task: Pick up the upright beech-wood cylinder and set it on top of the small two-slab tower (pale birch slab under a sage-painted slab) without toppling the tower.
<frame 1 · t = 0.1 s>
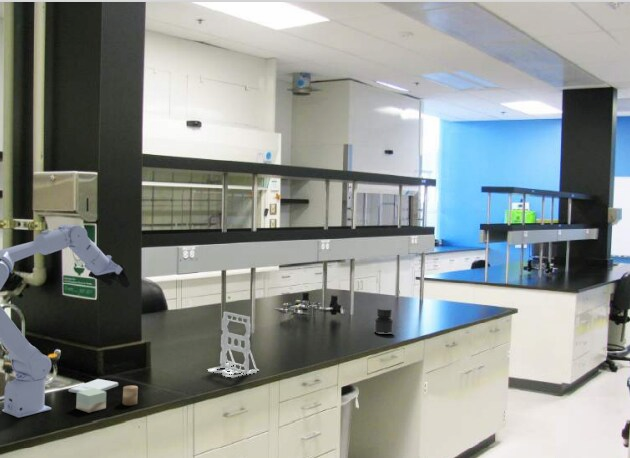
hand: (119, 284, 192), 32 cm above the worktop, fingers open, 7 cm apart
external hard drive: (93, 391, 192), on the worktop
slab lower: (90, 410, 174), on the worktop, touching slab upper
beech cylinder: (129, 403, 180), on the worktop
slab upper: (91, 401, 174), point 2 cm above the worktop, touching slab lower
ink bottle: (383, 334, 305), on the worktop
grey upright openwork frame: (232, 372, 221), on the worktop
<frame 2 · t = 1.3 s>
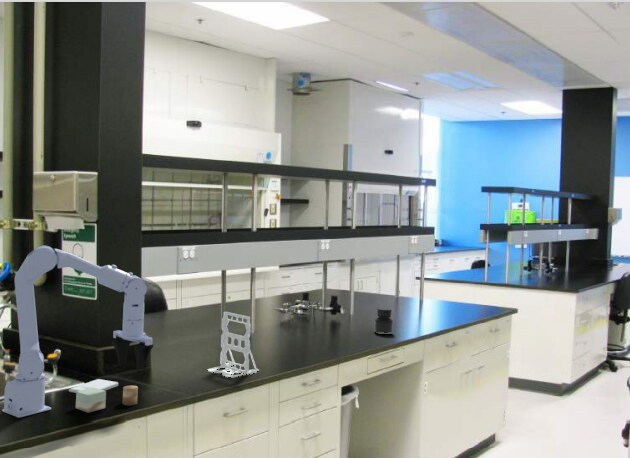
hand: (131, 366, 180), 10 cm above the worktop, fingers open, 7 cm apart
nothing on the worktop moved.
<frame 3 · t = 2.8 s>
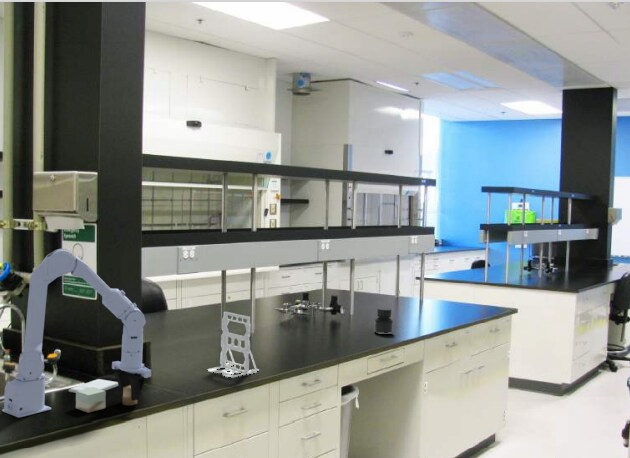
hand: (130, 398, 180), 1 cm above the worktop, fingers closed on beech cylinder, 4 cm apart
beech cylinder: (129, 403, 180), on the worktop, touching gripper
everything else where it was.
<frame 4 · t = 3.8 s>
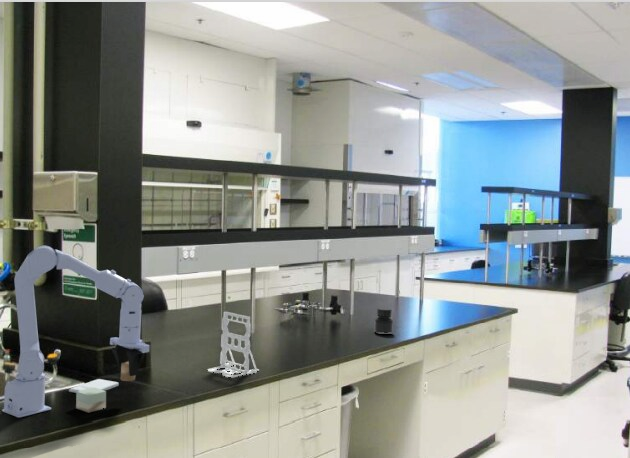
hand: (128, 373, 179), 8 cm above the worktop, fingers closed on beech cylinder, 4 cm apart
beech cylinder: (127, 379, 180), point 7 cm above the worktop, touching gripper
everything else where it was.
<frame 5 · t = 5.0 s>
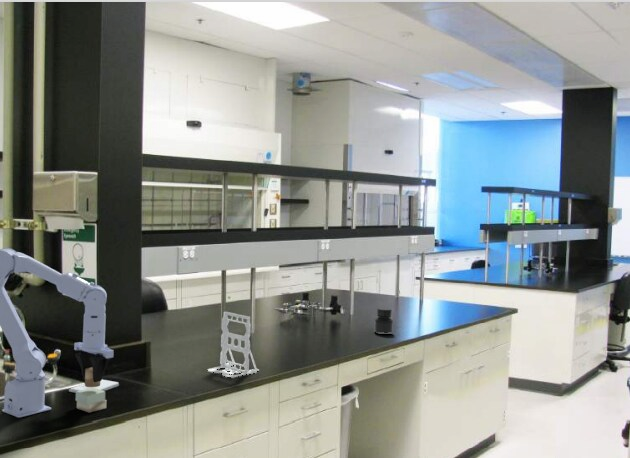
hand: (92, 379, 174), 8 cm above the worktop, fingers closed on beech cylinder, 4 cm apart
beech cylinder: (92, 385, 174), point 6 cm above the worktop, touching gripper
everything else where it was.
when the fingers open (7 cm above the worktop, at t = 5.5 s): beech cylinder drops 1 cm, resting on slab upper.
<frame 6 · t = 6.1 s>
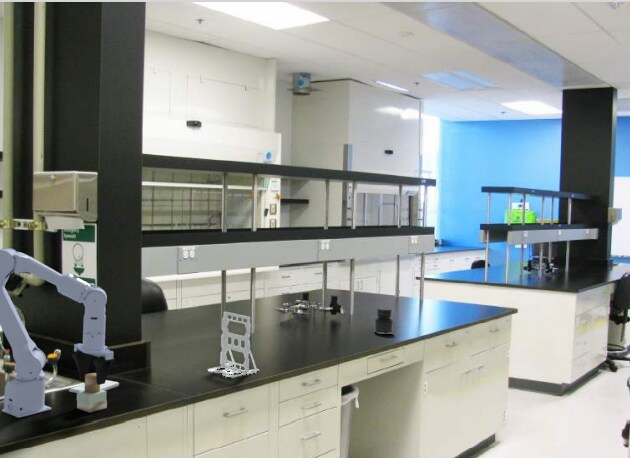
hand: (92, 381, 174), 7 cm above the worktop, fingers open, 7 cm apart
beech cylinder: (92, 391, 174), point 5 cm above the worktop, touching slab upper
slab upper: (91, 400, 174), point 2 cm above the worktop, touching beech cylinder, slab lower
everything else where it was.
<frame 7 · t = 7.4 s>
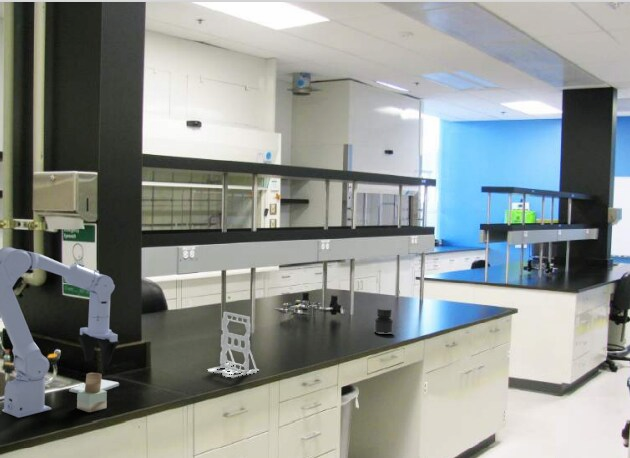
hand: (97, 362, 182), 10 cm above the worktop, fingers open, 7 cm apart
slab lower: (91, 409, 174), on the worktop
beech cylinder: (92, 390, 174), point 5 cm above the worktop
slab upper: (91, 400, 174), point 2 cm above the worktop
everything else where it was.
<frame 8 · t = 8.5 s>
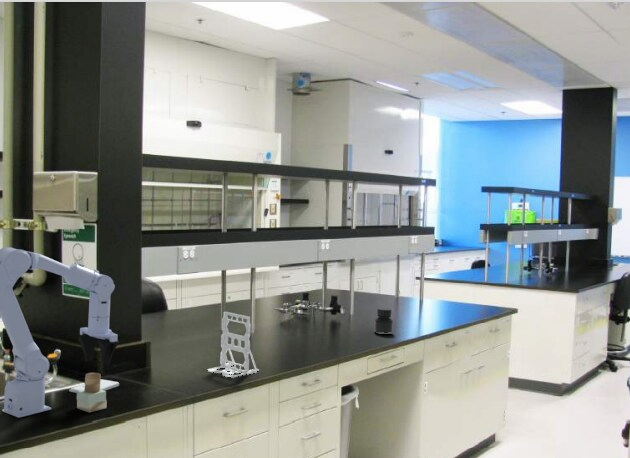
hand: (97, 362, 182), 10 cm above the worktop, fingers open, 7 cm apart
slab lower: (91, 409, 174), on the worktop, touching slab upper
beech cylinder: (92, 390, 174), point 5 cm above the worktop, touching slab upper
slab upper: (91, 400, 174), point 2 cm above the worktop, touching beech cylinder, slab lower
everything else where it was.
at the end: beech cylinder 0.1 cm off-centre on the slab upper, point 2.6 cm above the slab upper's base; beech cylinder tilted 2°; slab upper moved 0.4 cm from its start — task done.
